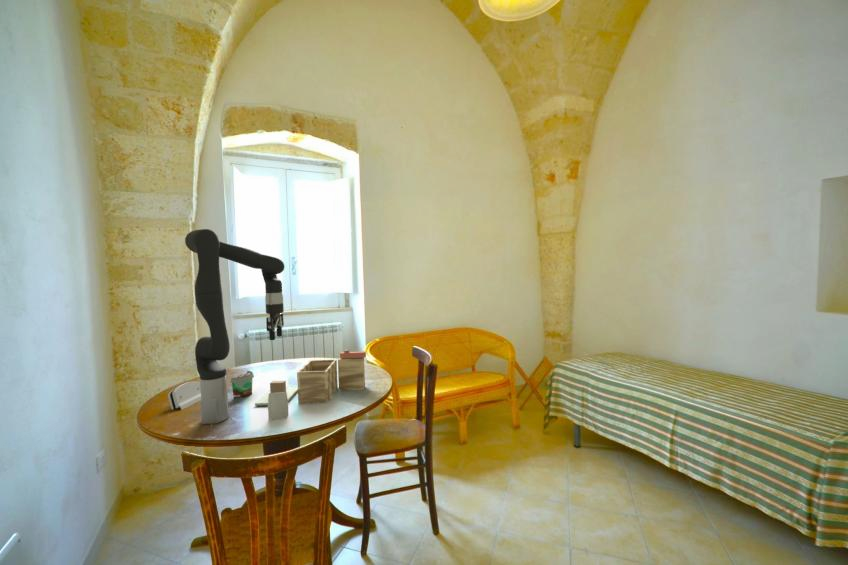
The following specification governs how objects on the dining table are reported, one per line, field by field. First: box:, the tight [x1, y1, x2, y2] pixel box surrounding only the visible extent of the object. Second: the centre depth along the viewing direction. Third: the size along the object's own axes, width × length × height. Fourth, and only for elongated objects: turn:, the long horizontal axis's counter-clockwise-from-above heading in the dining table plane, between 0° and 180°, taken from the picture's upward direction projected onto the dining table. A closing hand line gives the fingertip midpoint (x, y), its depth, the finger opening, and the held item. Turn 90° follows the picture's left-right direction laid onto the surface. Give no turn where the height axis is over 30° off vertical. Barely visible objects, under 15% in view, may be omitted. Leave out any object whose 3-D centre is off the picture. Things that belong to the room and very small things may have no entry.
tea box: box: [267, 392, 290, 421], centre depth 151 cm, size 4×7×10 cm, turn 97°
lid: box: [254, 380, 298, 406], centre depth 173 cm, size 20×13×8 cm, turn 1°
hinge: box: [167, 380, 201, 411], centre depth 170 cm, size 17×5×10 cm, turn 172°
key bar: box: [339, 349, 367, 359], centre depth 182 cm, size 2×12×4 cm, turn 91°
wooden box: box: [296, 356, 366, 405], centre depth 175 cm, size 20×26×15 cm
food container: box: [230, 370, 255, 400], centre depth 177 cm, size 12×6×10 cm, turn 168°
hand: (276, 338), depth 171 cm, fingers open, 8 cm apart
